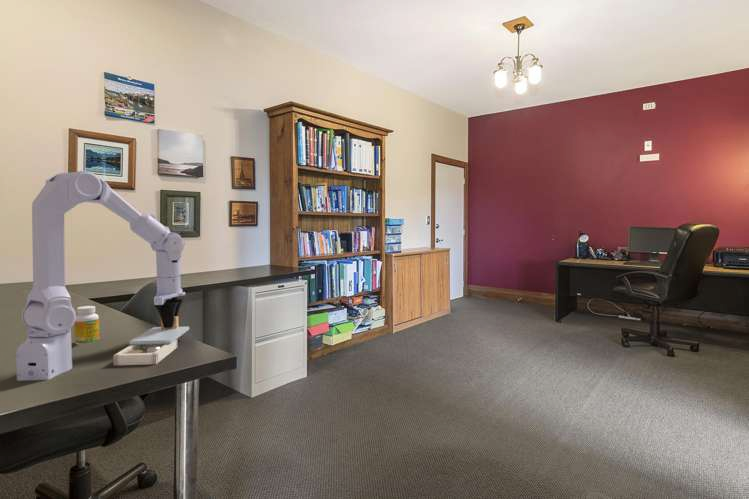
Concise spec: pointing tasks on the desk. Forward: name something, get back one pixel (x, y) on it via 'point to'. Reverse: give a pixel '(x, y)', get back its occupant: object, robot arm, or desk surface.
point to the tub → (144, 354)
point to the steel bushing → (152, 349)
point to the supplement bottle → (86, 325)
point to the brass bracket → (134, 352)
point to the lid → (160, 334)
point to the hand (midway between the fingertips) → (169, 326)
